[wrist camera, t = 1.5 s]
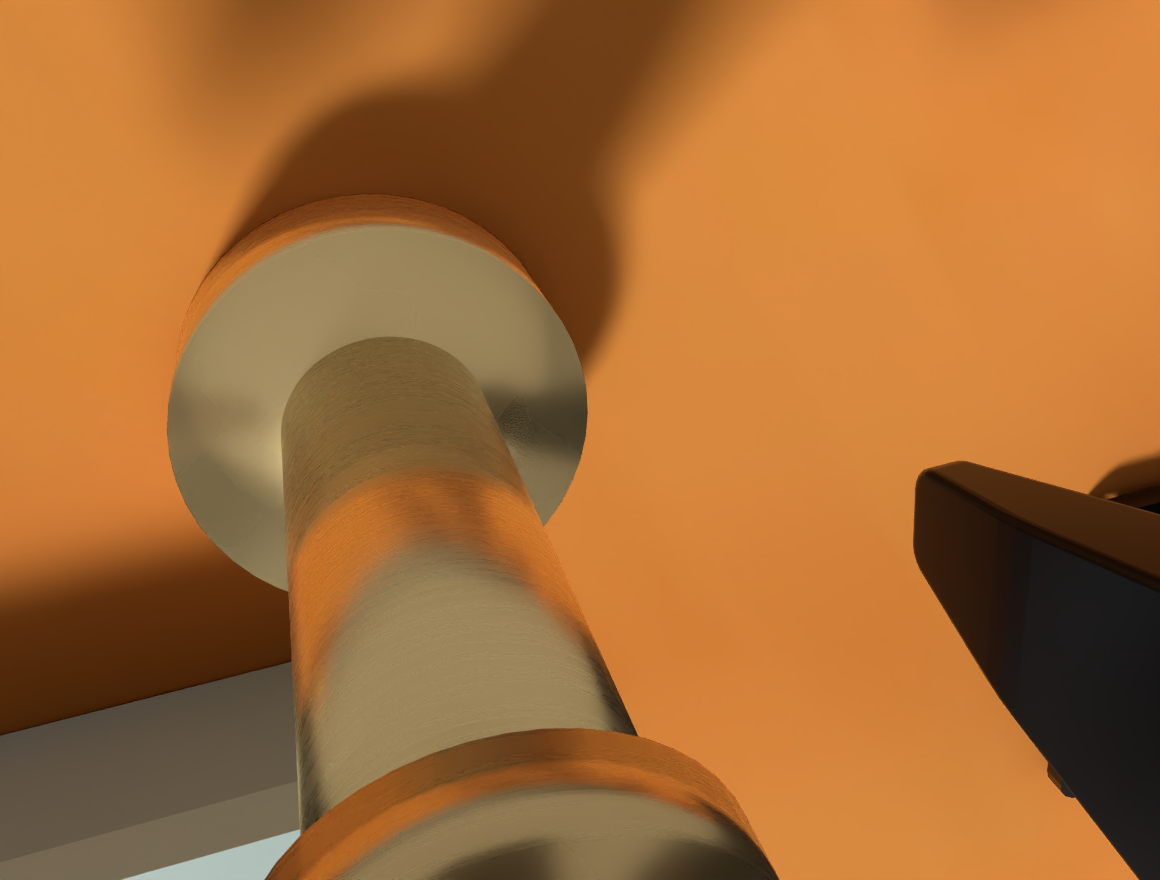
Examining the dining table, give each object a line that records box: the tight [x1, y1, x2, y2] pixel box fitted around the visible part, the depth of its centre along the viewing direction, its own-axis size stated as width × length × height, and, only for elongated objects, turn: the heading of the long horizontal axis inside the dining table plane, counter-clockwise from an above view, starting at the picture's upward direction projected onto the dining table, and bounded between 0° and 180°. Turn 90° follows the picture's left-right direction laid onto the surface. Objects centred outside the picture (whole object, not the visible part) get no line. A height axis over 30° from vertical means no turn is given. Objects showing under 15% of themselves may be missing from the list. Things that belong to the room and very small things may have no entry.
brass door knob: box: [167, 194, 779, 880], centre depth 10 cm, size 5×5×9 cm
